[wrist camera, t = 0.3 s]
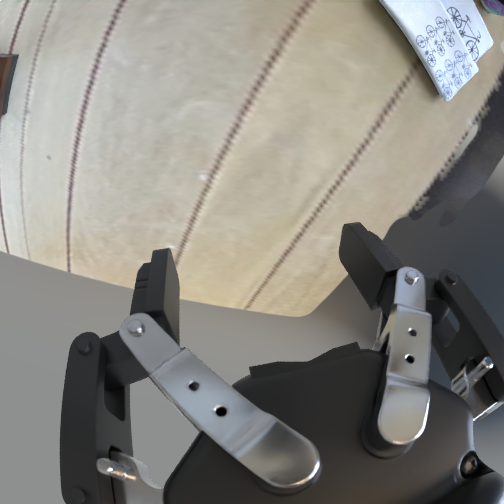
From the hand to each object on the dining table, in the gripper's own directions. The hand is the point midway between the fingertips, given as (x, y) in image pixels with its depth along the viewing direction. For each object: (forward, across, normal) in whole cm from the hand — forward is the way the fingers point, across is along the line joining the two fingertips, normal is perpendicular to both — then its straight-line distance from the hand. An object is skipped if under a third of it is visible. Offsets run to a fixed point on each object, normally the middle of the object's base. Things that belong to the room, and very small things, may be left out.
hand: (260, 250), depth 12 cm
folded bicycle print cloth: (+20, -32, -21) cm, 43 cm away
